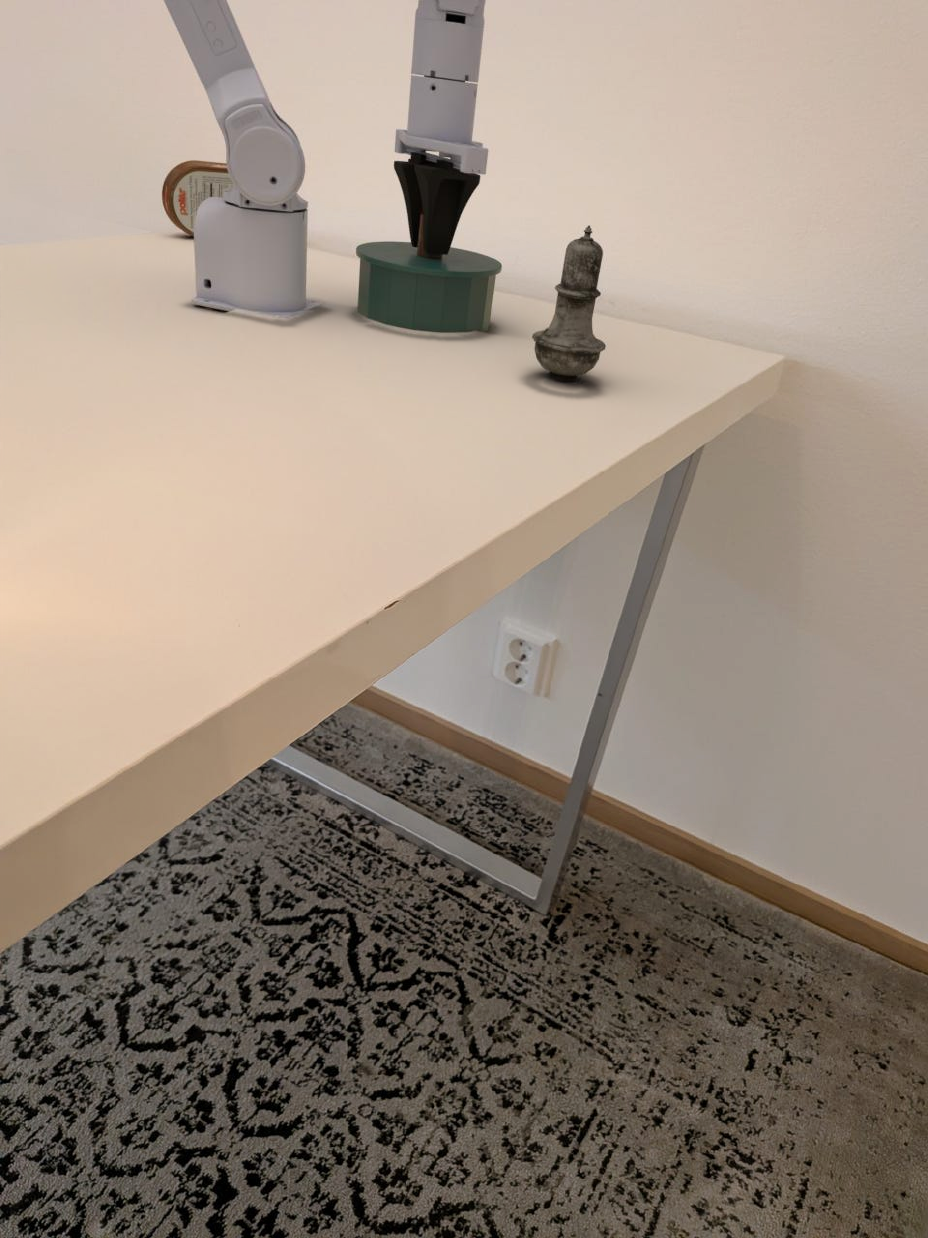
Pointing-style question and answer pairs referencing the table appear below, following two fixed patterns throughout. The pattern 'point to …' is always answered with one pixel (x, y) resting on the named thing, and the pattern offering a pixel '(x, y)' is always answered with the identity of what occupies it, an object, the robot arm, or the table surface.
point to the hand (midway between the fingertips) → (429, 250)
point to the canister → (425, 300)
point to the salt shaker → (573, 315)
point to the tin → (192, 190)
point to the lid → (428, 259)
